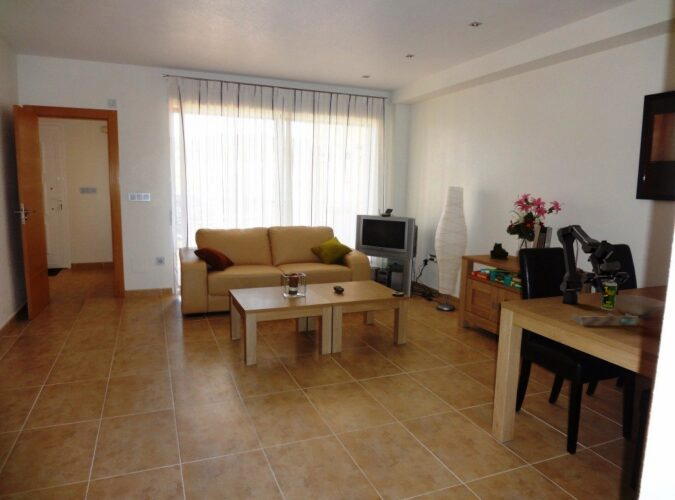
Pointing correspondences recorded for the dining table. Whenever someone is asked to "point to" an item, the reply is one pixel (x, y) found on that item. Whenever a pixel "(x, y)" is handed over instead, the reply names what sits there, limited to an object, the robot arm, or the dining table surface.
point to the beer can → (609, 295)
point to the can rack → (605, 320)
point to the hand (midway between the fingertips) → (611, 294)
